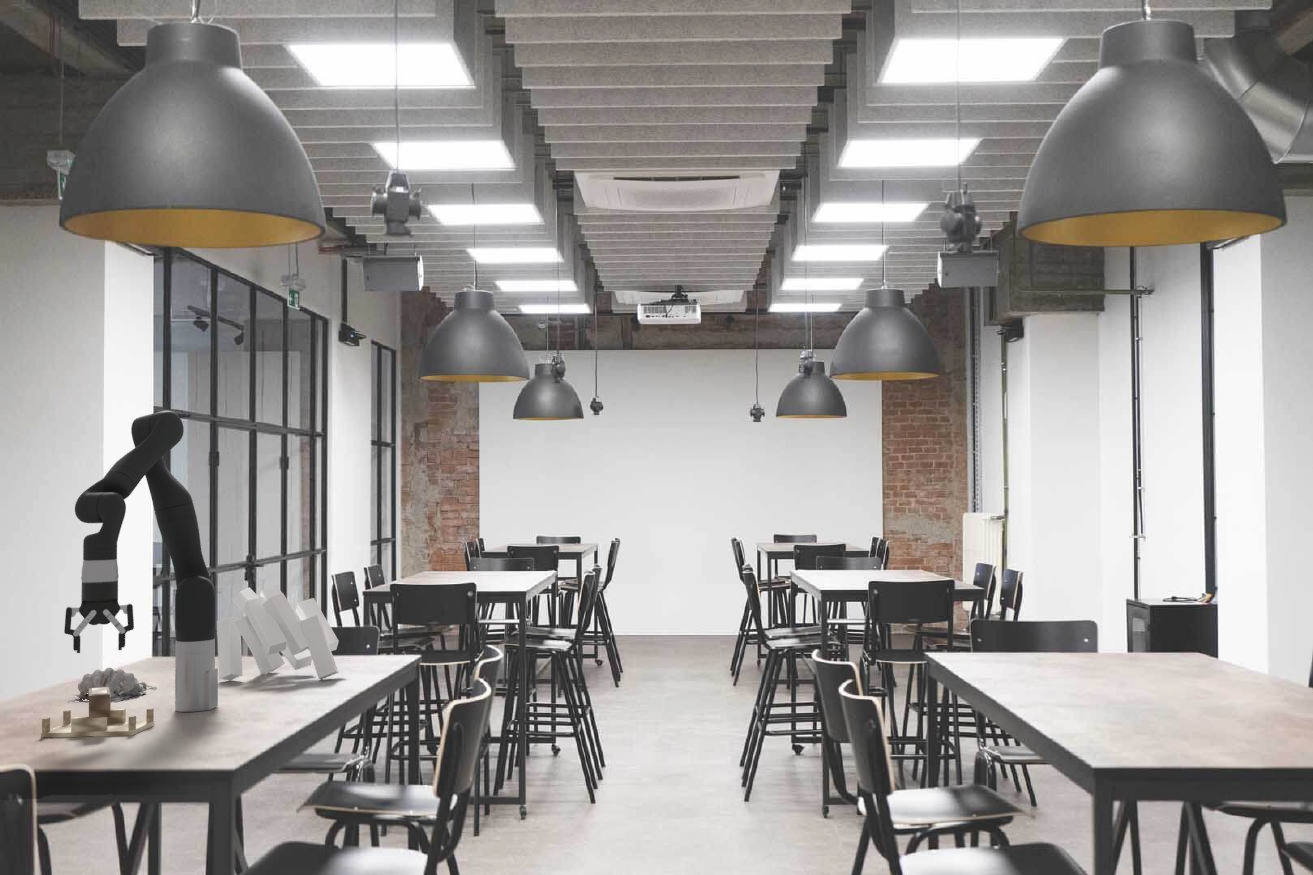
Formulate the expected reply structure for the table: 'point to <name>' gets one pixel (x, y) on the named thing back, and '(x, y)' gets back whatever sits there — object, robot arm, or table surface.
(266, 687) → the table surface
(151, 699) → the table surface
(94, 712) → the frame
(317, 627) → the pile of blocks
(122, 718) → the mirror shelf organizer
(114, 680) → the grey rough lump
